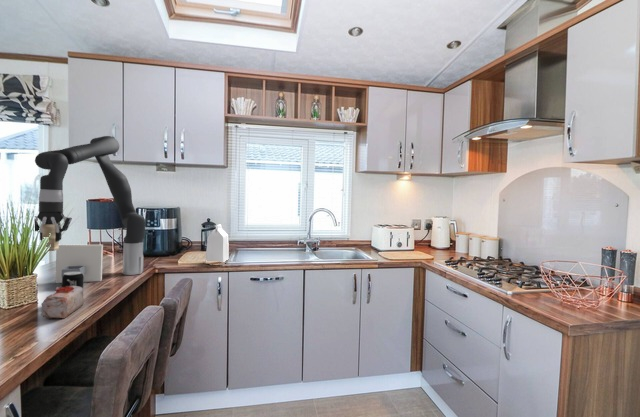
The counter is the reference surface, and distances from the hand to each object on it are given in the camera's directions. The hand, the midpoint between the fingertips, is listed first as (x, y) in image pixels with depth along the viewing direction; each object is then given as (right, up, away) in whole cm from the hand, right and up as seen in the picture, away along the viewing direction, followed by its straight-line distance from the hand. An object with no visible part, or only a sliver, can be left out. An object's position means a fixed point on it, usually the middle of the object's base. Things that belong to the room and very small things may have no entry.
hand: (50, 241), depth 125 cm
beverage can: (+14, -24, -6) cm, 28 cm away
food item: (+20, -25, -16) cm, 36 cm away
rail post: (0, -4, 0) cm, 4 cm away
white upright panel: (-3, -22, +17) cm, 28 cm away
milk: (+44, -23, +74) cm, 90 cm away
